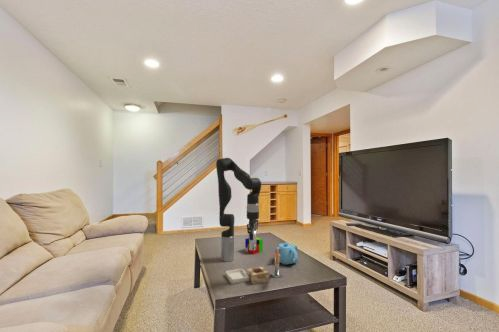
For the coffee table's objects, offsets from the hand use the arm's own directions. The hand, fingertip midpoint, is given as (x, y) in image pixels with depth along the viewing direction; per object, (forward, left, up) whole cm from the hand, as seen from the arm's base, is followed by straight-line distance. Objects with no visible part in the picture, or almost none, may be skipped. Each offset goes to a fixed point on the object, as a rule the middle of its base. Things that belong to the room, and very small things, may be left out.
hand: (252, 238), depth 140 cm
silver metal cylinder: (0, 0, -6) cm, 6 cm away
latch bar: (+7, +13, -12) cm, 19 cm away
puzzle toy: (-44, +19, -24) cm, 54 cm away
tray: (-4, -9, -24) cm, 26 cm away
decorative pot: (-15, +32, -24) cm, 43 cm away
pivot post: (+2, +15, -24) cm, 29 cm away
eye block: (+2, +2, -24) cm, 24 cm away
